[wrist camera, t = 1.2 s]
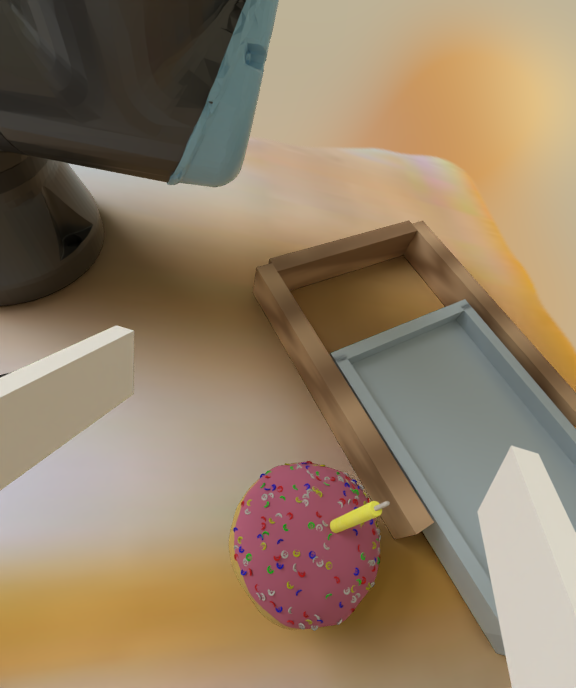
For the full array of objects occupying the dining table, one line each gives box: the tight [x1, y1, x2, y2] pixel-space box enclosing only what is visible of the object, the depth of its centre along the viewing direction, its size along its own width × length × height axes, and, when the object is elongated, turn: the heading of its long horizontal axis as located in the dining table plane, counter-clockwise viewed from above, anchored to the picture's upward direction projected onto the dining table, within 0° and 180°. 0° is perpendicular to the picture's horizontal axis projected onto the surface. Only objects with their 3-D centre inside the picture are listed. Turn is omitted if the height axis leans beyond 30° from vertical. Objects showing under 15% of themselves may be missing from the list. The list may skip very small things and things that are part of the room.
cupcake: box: [229, 461, 390, 631], centre depth 21 cm, size 9×8×12 cm
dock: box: [253, 221, 576, 539], centre depth 34 cm, size 24×19×4 cm
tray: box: [330, 299, 576, 656], centre depth 30 cm, size 22×15×3 cm
